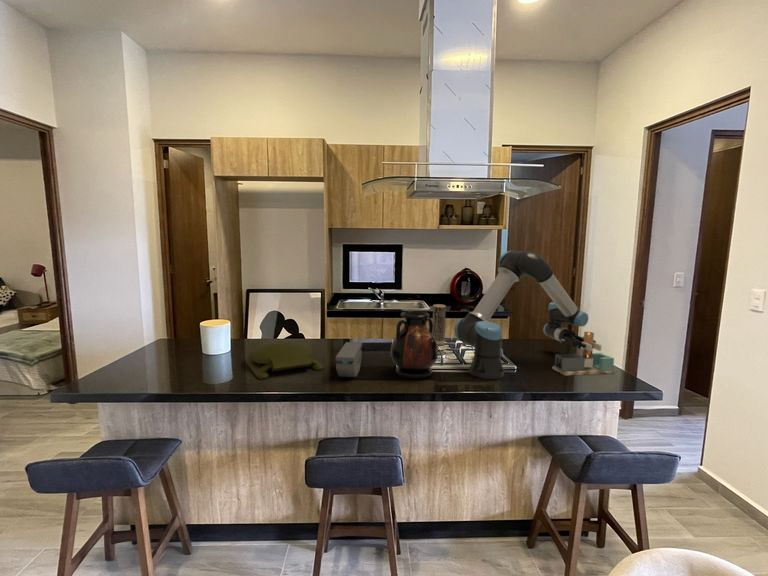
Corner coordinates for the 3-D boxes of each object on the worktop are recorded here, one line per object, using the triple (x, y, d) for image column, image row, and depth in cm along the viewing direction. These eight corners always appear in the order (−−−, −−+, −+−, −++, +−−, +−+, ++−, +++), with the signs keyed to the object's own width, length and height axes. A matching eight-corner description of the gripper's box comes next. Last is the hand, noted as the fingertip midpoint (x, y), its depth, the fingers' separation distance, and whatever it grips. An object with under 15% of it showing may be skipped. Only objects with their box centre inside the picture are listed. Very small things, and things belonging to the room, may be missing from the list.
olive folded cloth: (325, 370, 191) (325, 350, 190) (258, 381, 176) (258, 359, 174) (301, 352, 221) (301, 334, 220) (242, 359, 206) (241, 340, 204)
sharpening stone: (353, 382, 175) (353, 357, 173) (335, 381, 175) (335, 357, 174) (361, 364, 199) (362, 342, 198) (345, 363, 200) (346, 342, 199)
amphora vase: (420, 363, 202) (421, 307, 198) (447, 376, 183) (449, 315, 180) (381, 370, 192) (382, 311, 188) (406, 384, 173) (407, 319, 169)
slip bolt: (565, 368, 190) (567, 334, 188) (560, 365, 194) (562, 332, 192) (593, 367, 193) (596, 333, 191) (588, 364, 197) (590, 331, 195)
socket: (601, 370, 191) (602, 358, 190) (588, 364, 200) (589, 353, 199) (613, 370, 192) (614, 358, 191) (599, 364, 201) (600, 352, 200)
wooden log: (443, 348, 231) (445, 304, 227) (444, 351, 224) (446, 306, 221) (431, 347, 231) (433, 304, 228) (432, 351, 224) (433, 306, 221)
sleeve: (562, 371, 189) (563, 358, 188) (554, 367, 195) (555, 354, 194) (583, 370, 191) (584, 357, 190) (575, 366, 197) (576, 353, 196)
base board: (564, 375, 187) (564, 372, 187) (552, 368, 197) (552, 366, 197) (613, 373, 191) (613, 370, 191) (598, 366, 201) (599, 364, 201)
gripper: (579, 342, 212) (611, 355, 190) (549, 343, 210) (578, 356, 187) (580, 328, 212) (613, 339, 189) (550, 329, 209) (579, 340, 186)
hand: (595, 348), depth 188 cm, fingers closed on slip bolt, 4 cm apart
